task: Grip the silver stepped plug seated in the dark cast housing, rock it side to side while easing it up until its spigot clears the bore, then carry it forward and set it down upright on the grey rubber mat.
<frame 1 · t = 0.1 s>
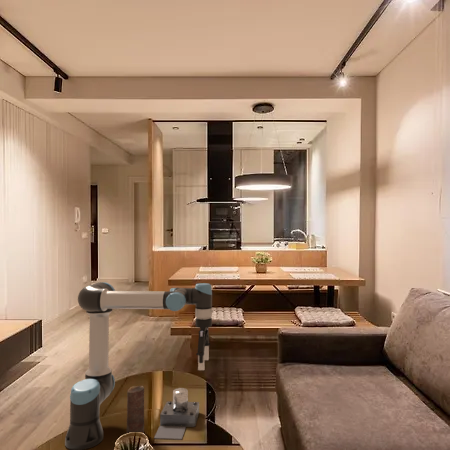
hand: (203, 364, 165), 28 cm above the table, fingers open, 13 cm apart
candle: (135, 435, 158), on the table
housing: (180, 418, 171), on the table
silver stepped plug: (180, 419, 171), resting in housing
mat: (170, 433, 159), on the table
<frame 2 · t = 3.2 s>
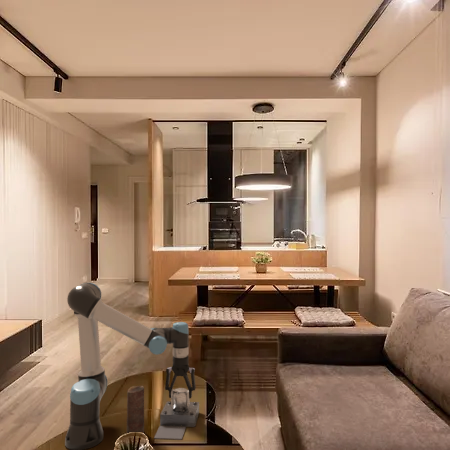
hand: (180, 404, 172), 7 cm above the table, fingers closed on silver stepped plug, 7 cm apart
silver stepped plug: (180, 419, 171), resting in housing, touching gripper
everything else where it was.
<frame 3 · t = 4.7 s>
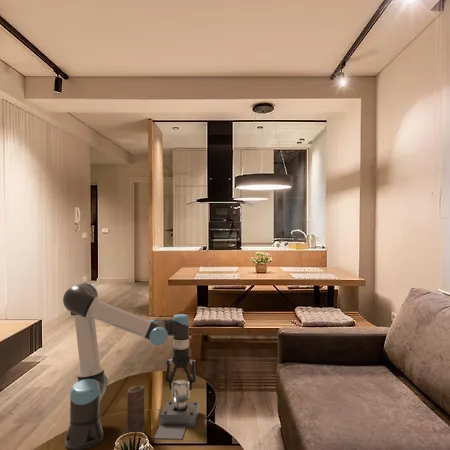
hand: (180, 396, 172), 10 cm above the table, fingers closed on silver stepped plug, 7 cm apart
silver stepped plug: (180, 410, 172), point 4 cm above the table, touching gripper
everything else where it was.
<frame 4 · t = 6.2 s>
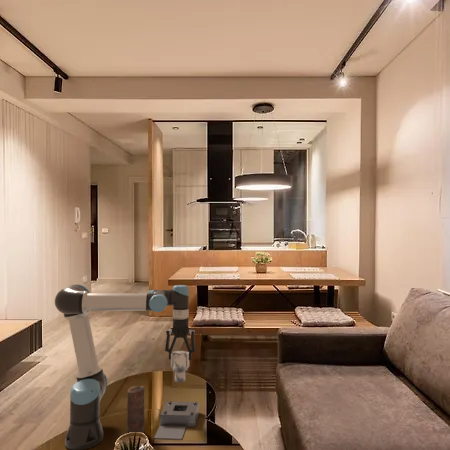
hand: (180, 366, 173), 24 cm above the table, fingers closed on silver stepped plug, 7 cm apart
silver stepped plug: (179, 380, 172), point 18 cm above the table, touching gripper
everything else where it was.
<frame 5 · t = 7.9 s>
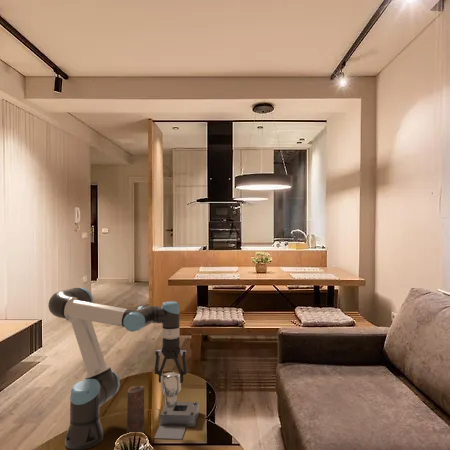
hand: (171, 389, 160), 19 cm above the table, fingers closed on silver stepped plug, 7 cm apart
silver stepped plug: (171, 405, 159), point 12 cm above the table, touching gripper
everything else where it was.
when the fingers open (8 cm above the table, at t = 9.4 s): silver stepped plug drops 1 cm, resting on mat.
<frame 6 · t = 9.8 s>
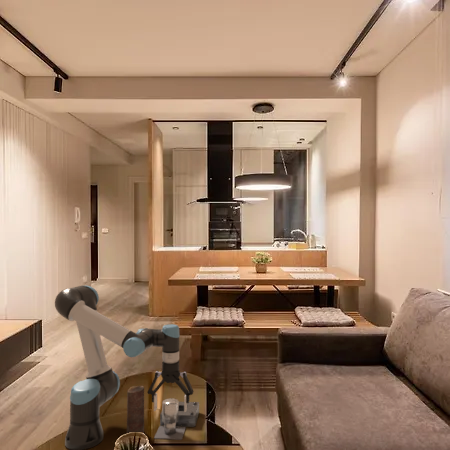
hand: (170, 410, 159), 10 cm above the table, fingers open, 13 cm apart
silver stepped plug: (170, 432, 159), resting on mat
everything else where it was.
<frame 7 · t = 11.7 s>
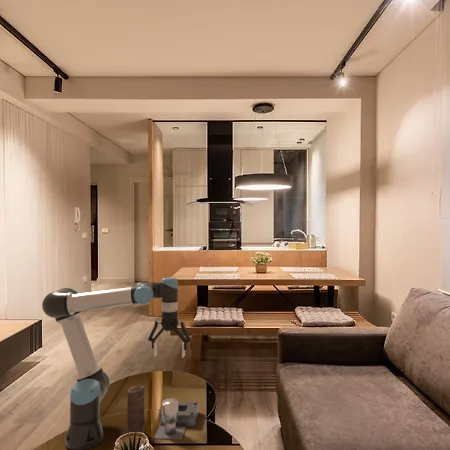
hand: (169, 356, 170), 30 cm above the table, fingers open, 13 cm apart
nothing on the table moved.
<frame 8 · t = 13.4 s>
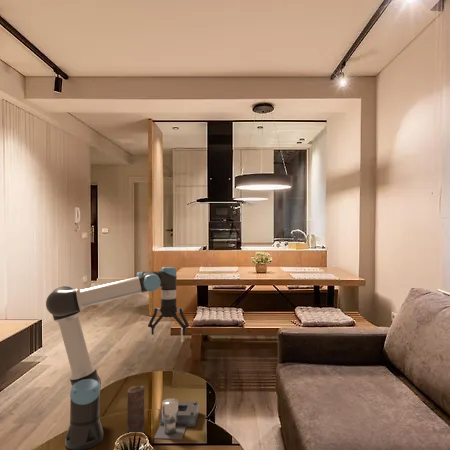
hand: (168, 341, 179), 35 cm above the table, fingers open, 13 cm apart
nothing on the table moved.
at the end: silver stepped plug inside the target area on the mat (0.1 cm from its centre), point 0.4 cm above the mat's base; silver stepped plug tilted 1°; silver stepped plug touching mat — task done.
